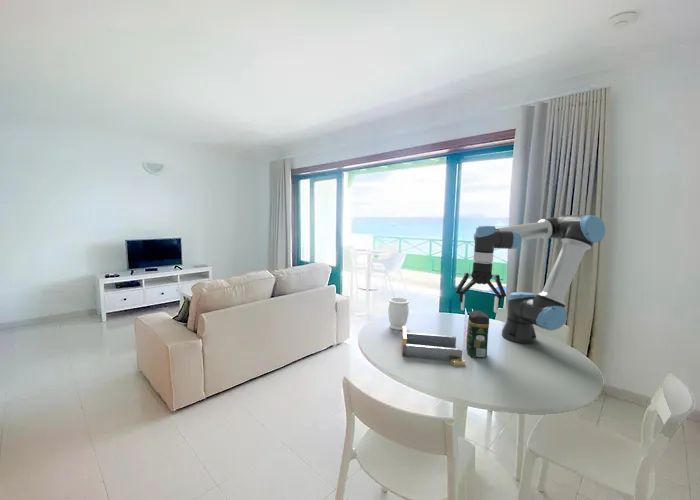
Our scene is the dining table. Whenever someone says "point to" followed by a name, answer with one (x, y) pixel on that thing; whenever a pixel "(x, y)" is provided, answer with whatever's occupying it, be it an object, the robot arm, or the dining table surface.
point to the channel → (429, 346)
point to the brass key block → (457, 362)
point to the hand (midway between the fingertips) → (478, 311)
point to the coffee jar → (477, 334)
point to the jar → (398, 313)
